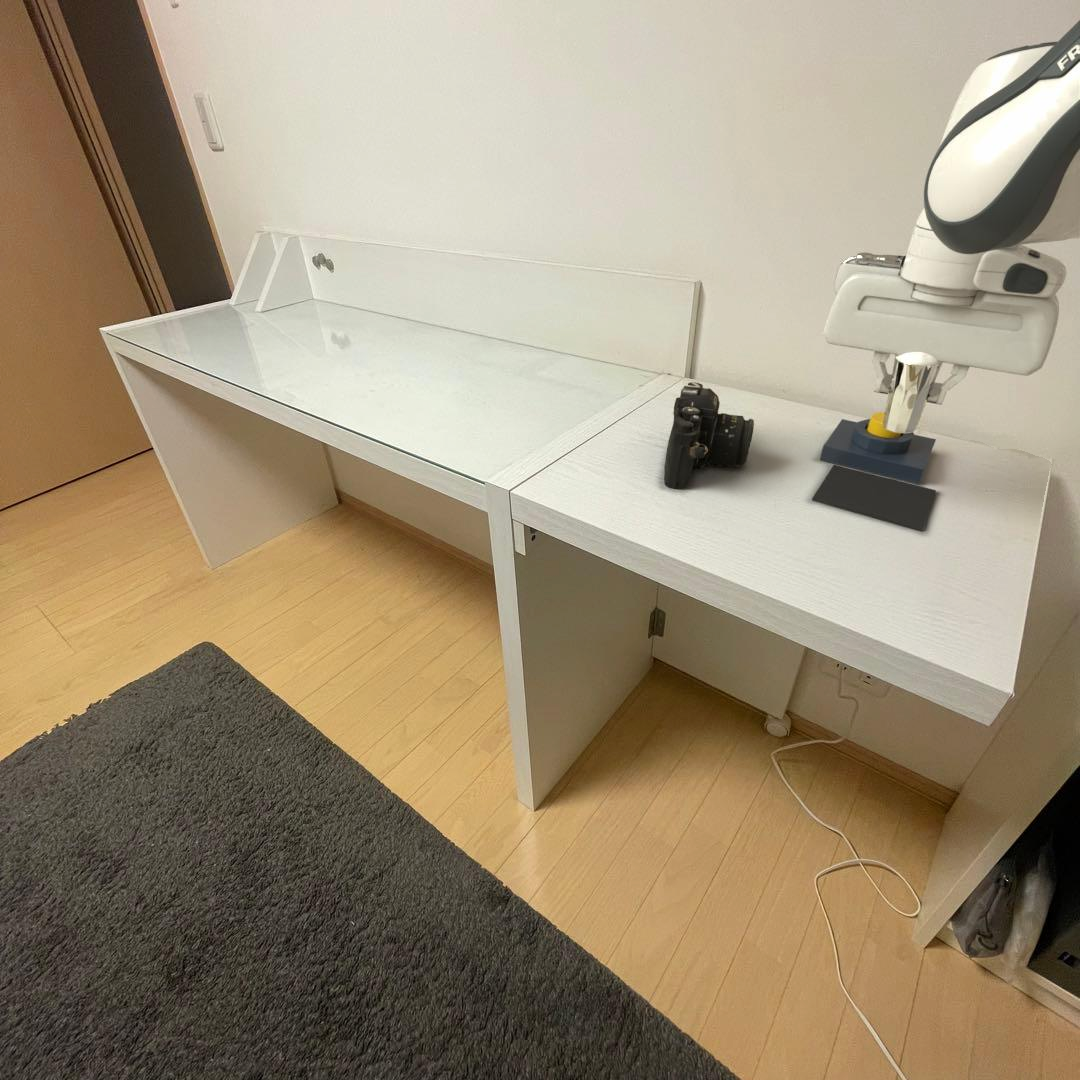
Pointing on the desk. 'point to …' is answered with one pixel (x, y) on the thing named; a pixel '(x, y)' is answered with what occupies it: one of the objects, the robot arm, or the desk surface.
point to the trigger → (880, 427)
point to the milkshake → (909, 390)
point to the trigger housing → (878, 451)
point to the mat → (876, 497)
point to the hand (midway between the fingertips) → (908, 396)
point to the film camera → (703, 436)
